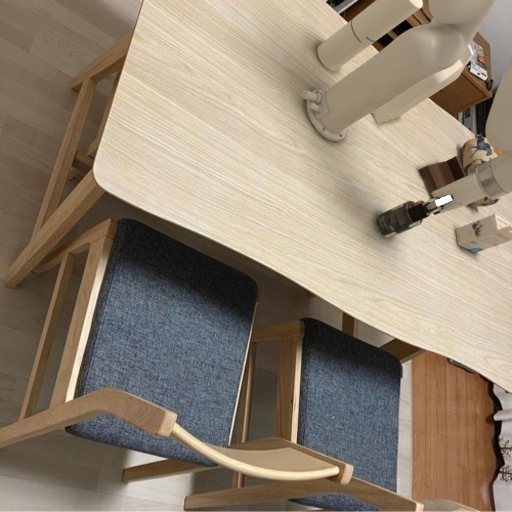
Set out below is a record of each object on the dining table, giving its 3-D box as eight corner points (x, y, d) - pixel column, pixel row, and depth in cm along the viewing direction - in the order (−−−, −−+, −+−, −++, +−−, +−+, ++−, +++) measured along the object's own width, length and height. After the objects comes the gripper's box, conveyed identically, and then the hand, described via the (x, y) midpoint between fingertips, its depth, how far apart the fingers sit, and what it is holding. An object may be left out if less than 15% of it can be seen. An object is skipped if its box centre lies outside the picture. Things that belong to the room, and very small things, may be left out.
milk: (398, 117, 154) (487, 64, 135) (377, 123, 145) (469, 68, 127) (379, 76, 154) (465, 18, 135) (357, 81, 145) (446, 19, 127)
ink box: (472, 237, 159) (523, 218, 149) (474, 253, 157) (526, 235, 147) (454, 228, 154) (506, 208, 144) (457, 245, 152) (509, 226, 142)
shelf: (434, 208, 151) (454, 199, 146) (418, 170, 151) (437, 160, 147) (454, 201, 159) (473, 192, 155) (438, 164, 160) (457, 155, 156)
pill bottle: (391, 242, 133) (433, 225, 125) (374, 231, 130) (416, 213, 122) (392, 221, 136) (432, 203, 128) (375, 209, 133) (416, 191, 125)
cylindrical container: (338, 75, 140) (424, 14, 123) (317, 62, 136) (403, -4, 119) (337, 53, 143) (420, -11, 126) (316, 39, 139) (400, -28, 122)
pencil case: (455, 142, 171) (485, 127, 164) (471, 155, 176) (501, 141, 169) (461, 204, 161) (493, 190, 154) (478, 215, 166) (510, 203, 159)
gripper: (501, 157, 120) (432, 191, 132) (466, 167, 108) (394, 203, 120) (516, 190, 119) (445, 220, 131) (483, 203, 107) (408, 235, 119)
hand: (421, 212), depth 125 cm, fingers open, 9 cm apart
